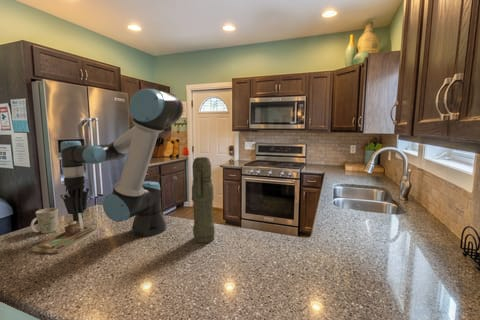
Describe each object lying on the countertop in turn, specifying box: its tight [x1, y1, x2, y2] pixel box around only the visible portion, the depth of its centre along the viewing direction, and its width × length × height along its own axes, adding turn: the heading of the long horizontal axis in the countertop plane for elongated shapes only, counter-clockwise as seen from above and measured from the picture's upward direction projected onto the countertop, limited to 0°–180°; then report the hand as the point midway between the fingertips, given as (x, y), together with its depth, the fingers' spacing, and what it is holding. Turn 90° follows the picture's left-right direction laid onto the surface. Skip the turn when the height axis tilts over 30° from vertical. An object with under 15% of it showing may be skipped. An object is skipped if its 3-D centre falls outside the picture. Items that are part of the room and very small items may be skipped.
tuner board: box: [31, 225, 98, 254], centre depth 105 cm, size 12×20×2 cm, turn 170°
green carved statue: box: [191, 156, 216, 245], centre depth 102 cm, size 9×12×35 cm
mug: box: [29, 207, 59, 234], centre depth 113 cm, size 8×13×10 cm, turn 174°
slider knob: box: [64, 220, 84, 236], centre depth 107 cm, size 7×4×6 cm, turn 80°
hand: (78, 227), depth 111 cm, fingers closed
